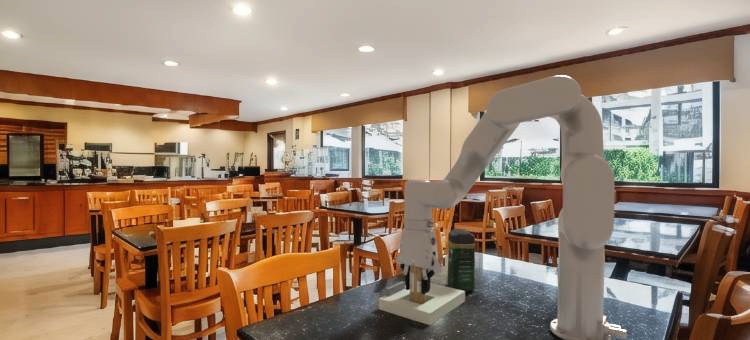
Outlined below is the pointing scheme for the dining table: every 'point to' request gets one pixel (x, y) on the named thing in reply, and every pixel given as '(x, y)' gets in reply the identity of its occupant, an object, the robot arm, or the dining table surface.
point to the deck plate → (429, 312)
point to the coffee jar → (461, 260)
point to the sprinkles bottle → (416, 285)
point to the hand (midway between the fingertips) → (417, 290)
